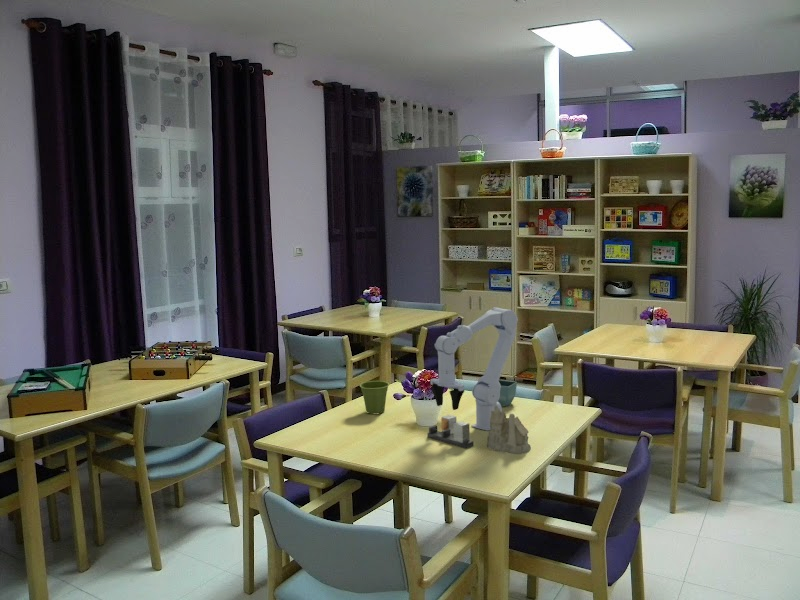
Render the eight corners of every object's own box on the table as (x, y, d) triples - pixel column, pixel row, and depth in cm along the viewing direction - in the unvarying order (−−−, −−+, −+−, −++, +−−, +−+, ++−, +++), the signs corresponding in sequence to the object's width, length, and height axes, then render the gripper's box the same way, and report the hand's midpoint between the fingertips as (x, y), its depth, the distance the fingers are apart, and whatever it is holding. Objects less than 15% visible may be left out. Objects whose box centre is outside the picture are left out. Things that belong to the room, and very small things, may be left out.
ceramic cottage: (519, 456, 231) (519, 410, 230) (477, 447, 242) (477, 403, 241) (543, 446, 243) (543, 402, 242) (502, 438, 254) (502, 396, 253)
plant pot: (356, 410, 288) (355, 383, 287) (382, 406, 293) (382, 379, 292) (367, 417, 278) (366, 389, 276) (394, 413, 283) (394, 385, 281)
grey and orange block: (456, 432, 257) (456, 416, 256) (448, 435, 254) (447, 419, 253) (449, 430, 259) (449, 414, 259) (441, 433, 256) (440, 417, 256)
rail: (427, 436, 253) (427, 416, 252) (435, 434, 256) (435, 413, 255) (465, 448, 240) (465, 426, 239) (473, 445, 242) (473, 424, 241)
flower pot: (517, 403, 293) (517, 381, 291) (508, 408, 285) (508, 386, 284) (497, 400, 297) (497, 379, 296) (488, 405, 290) (488, 384, 289)
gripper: (424, 368, 255) (425, 405, 257) (454, 375, 244) (455, 413, 246) (437, 365, 260) (438, 401, 262) (467, 371, 249) (468, 409, 251)
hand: (447, 407), depth 254 cm, fingers open, 7 cm apart
